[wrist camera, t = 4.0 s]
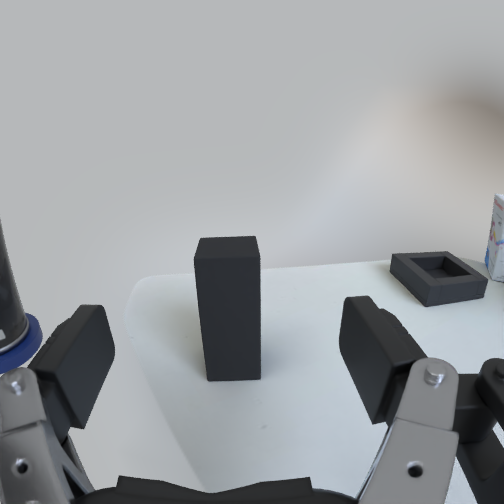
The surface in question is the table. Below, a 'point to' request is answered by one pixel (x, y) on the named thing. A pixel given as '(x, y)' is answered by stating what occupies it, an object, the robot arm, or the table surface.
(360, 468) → the table surface
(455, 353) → the table surface
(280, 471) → the table surface
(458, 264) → the base pad
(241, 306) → the block
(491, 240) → the ink box
